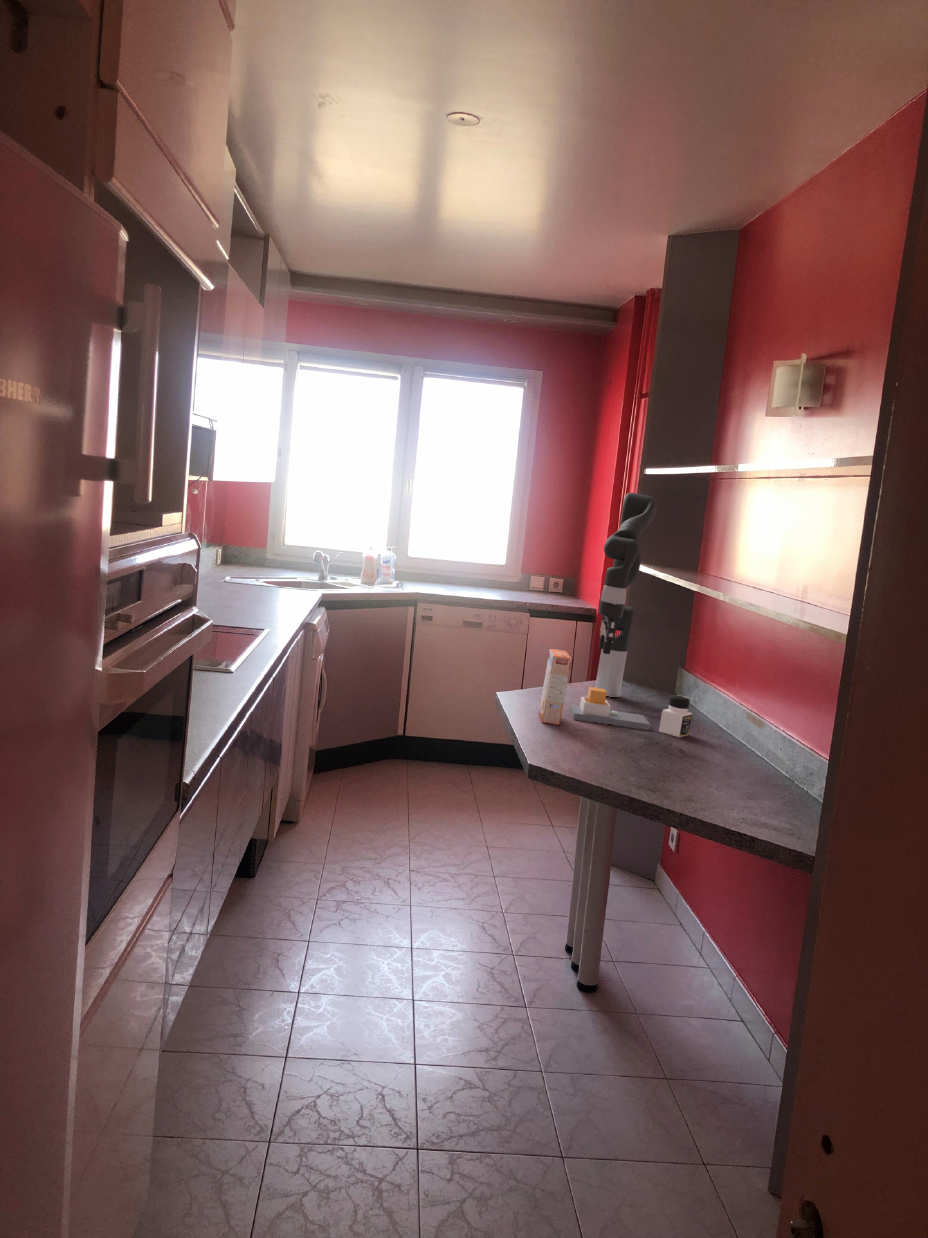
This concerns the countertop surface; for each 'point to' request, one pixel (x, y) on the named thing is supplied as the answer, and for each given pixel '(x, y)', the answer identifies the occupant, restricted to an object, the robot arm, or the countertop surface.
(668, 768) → the countertop surface
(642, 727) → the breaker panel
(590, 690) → the orange cube
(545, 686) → the cracker box
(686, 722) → the medicine bottle
